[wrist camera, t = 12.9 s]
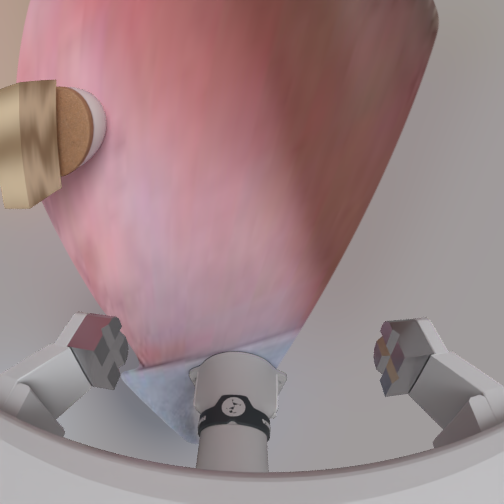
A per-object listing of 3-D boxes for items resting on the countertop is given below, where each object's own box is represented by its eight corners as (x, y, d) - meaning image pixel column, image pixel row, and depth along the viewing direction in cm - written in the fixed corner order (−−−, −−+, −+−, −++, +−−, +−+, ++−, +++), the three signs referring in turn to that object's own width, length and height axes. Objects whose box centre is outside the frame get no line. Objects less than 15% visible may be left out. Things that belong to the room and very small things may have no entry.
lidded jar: (129, 145, 34) (94, 162, 26) (69, 172, 36) (30, 194, 28) (107, 71, 29) (66, 69, 21) (47, 105, 31) (4, 115, 23)
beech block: (61, 187, 27) (29, 208, 22) (36, 188, 27) (4, 208, 22) (56, 79, 22) (19, 82, 16) (29, 86, 21) (-7, 91, 16)
